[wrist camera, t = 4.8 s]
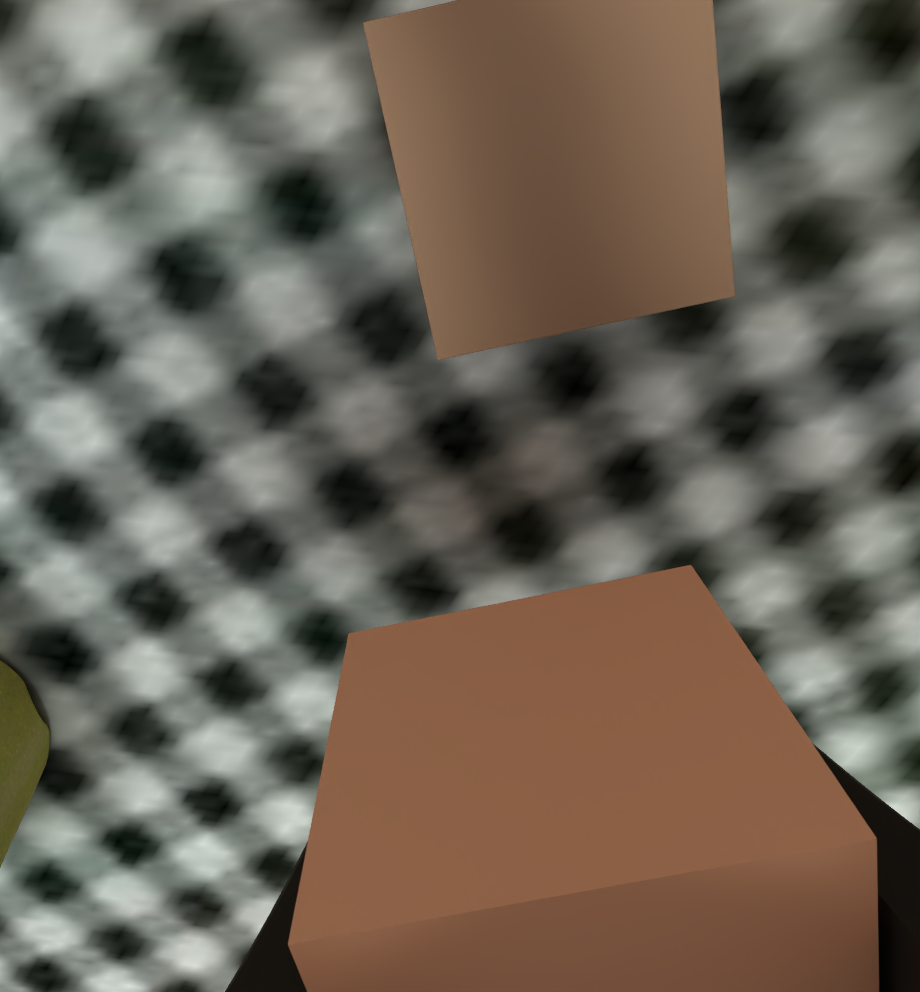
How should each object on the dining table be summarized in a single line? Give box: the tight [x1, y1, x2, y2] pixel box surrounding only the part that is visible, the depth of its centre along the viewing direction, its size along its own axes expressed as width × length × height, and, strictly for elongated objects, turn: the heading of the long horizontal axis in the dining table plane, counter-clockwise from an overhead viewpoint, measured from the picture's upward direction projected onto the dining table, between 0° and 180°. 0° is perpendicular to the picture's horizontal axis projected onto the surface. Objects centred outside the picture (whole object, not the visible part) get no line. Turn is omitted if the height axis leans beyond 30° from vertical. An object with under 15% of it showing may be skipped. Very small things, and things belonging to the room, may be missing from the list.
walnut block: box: [363, 0, 735, 360], centre depth 14 cm, size 5×5×5 cm
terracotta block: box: [288, 565, 879, 992], centre depth 10 cm, size 5×5×5 cm
